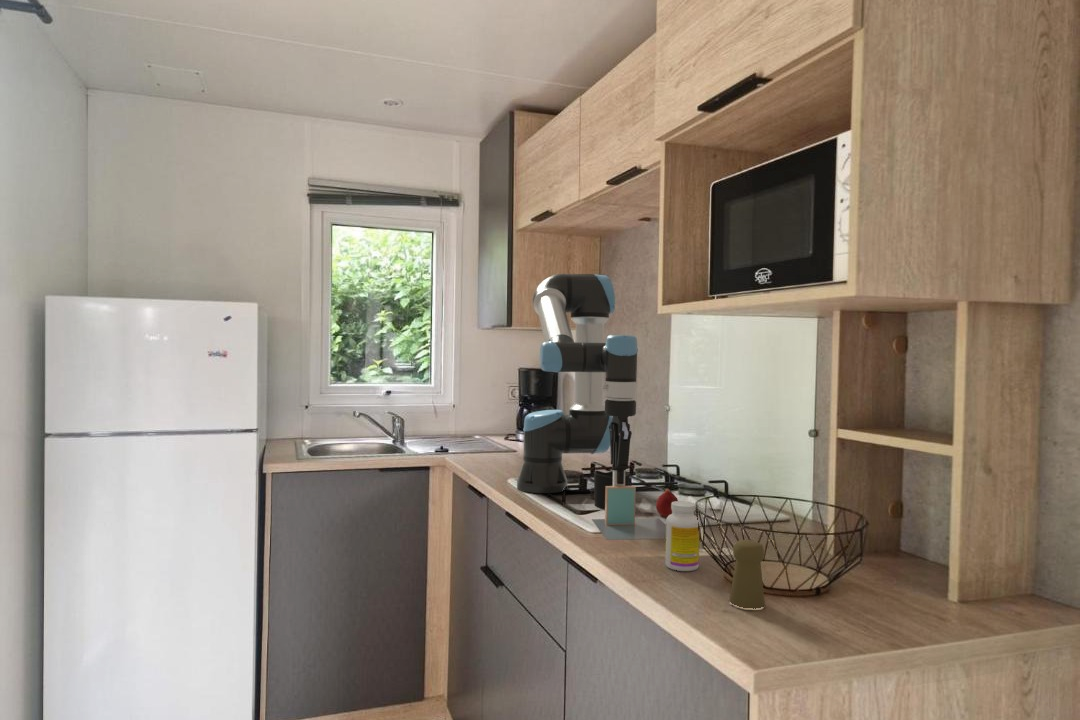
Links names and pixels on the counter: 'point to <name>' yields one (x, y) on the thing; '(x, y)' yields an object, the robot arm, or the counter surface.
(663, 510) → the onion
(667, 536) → the supplement bottle
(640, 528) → the slate board
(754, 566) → the cork
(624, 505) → the tile
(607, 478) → the pen holder
